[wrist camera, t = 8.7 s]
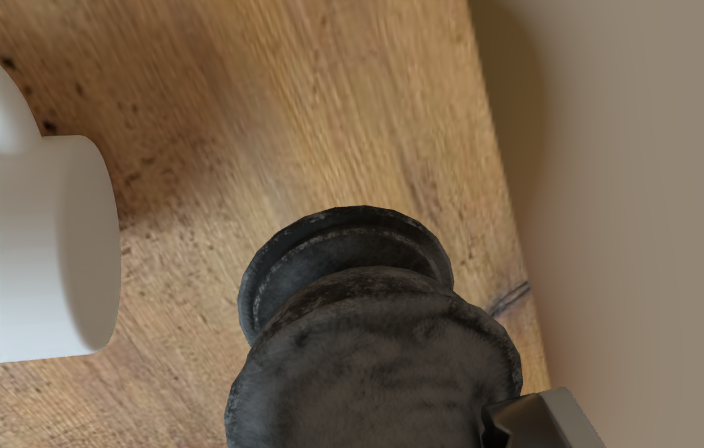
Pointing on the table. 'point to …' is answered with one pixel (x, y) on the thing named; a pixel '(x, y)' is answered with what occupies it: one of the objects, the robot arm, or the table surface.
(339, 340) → the chess piece
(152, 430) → the table surface
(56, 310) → the mug
